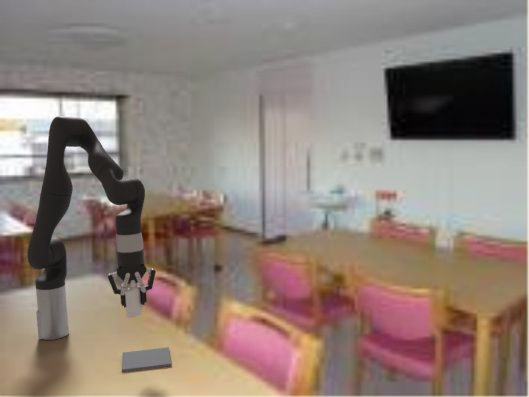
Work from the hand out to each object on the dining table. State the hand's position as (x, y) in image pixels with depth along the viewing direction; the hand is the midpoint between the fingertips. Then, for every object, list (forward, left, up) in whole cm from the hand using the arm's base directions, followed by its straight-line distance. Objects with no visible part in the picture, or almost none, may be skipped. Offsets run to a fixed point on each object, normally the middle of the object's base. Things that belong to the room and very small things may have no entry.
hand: (133, 305), depth 156 cm
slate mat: (+3, +1, -18) cm, 18 cm away
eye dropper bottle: (0, 0, -3) cm, 3 cm away
